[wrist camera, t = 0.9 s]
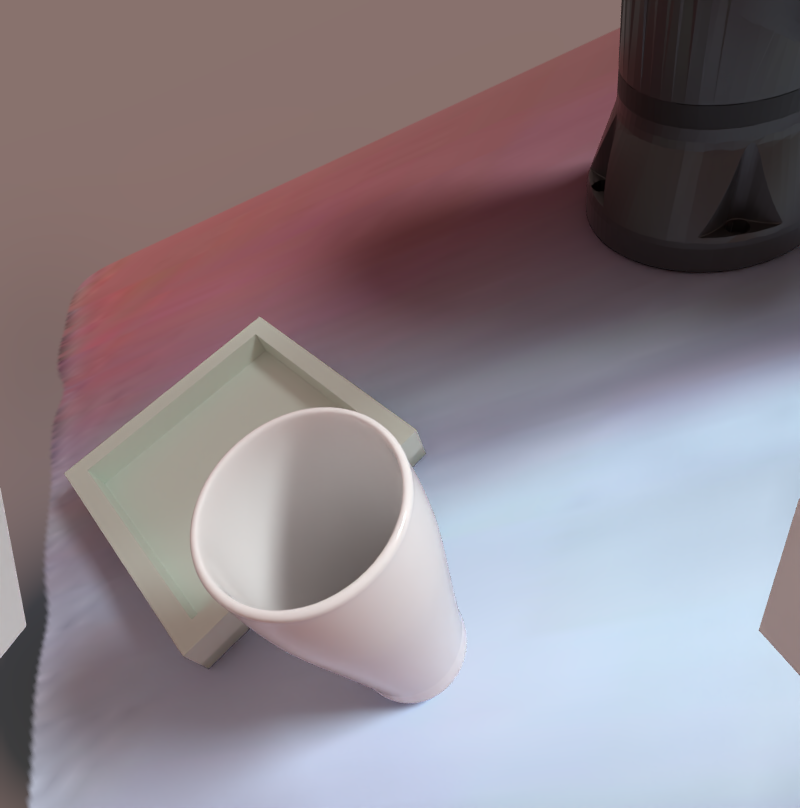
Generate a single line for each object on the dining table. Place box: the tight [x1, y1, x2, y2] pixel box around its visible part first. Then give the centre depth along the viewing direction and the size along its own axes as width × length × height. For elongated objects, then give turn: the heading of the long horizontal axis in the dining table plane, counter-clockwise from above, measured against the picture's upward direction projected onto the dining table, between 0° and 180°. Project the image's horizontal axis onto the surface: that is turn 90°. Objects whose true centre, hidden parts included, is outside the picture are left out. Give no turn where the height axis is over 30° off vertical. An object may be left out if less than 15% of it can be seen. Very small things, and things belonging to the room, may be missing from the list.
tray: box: [64, 317, 426, 669], centre depth 36 cm, size 16×16×2 cm
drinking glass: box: [190, 407, 467, 703], centre depth 22 cm, size 7×7×15 cm
